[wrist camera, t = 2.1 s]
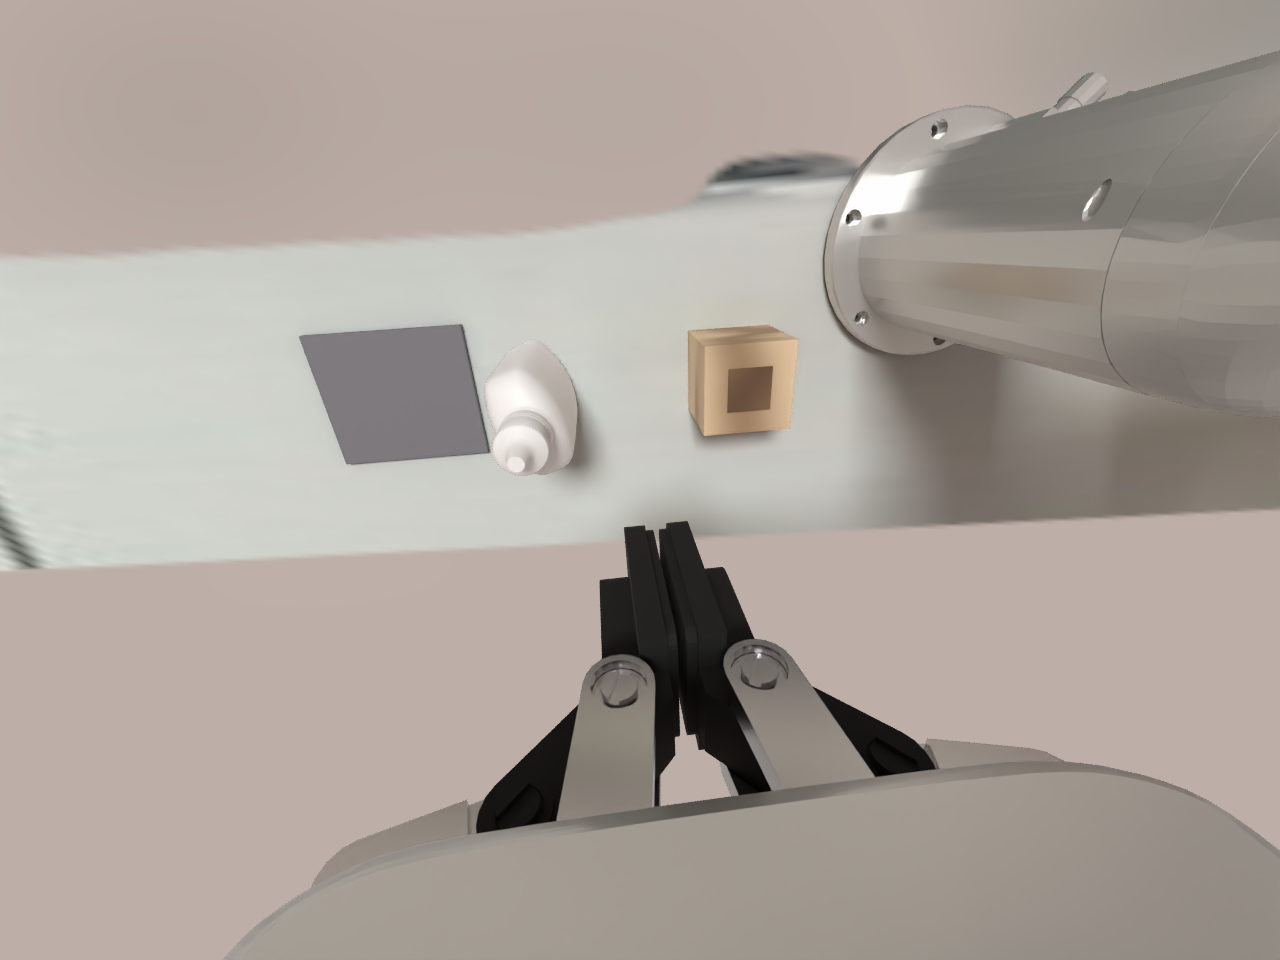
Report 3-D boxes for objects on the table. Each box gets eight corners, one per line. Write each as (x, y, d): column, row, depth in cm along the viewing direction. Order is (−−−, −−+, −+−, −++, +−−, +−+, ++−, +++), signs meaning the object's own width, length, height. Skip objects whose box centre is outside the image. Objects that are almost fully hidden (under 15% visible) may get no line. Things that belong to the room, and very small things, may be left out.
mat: (461, 324, 27) (460, 325, 27) (489, 450, 31) (487, 452, 31) (302, 335, 27) (298, 336, 27) (349, 461, 31) (346, 464, 30)
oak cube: (767, 324, 29) (799, 339, 25) (762, 402, 31) (790, 429, 27) (687, 330, 29) (705, 346, 24) (688, 408, 31) (704, 436, 27)
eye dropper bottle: (509, 424, 30) (463, 522, 20) (507, 335, 28) (454, 392, 17) (577, 429, 31) (568, 526, 20) (581, 342, 29) (573, 401, 18)
